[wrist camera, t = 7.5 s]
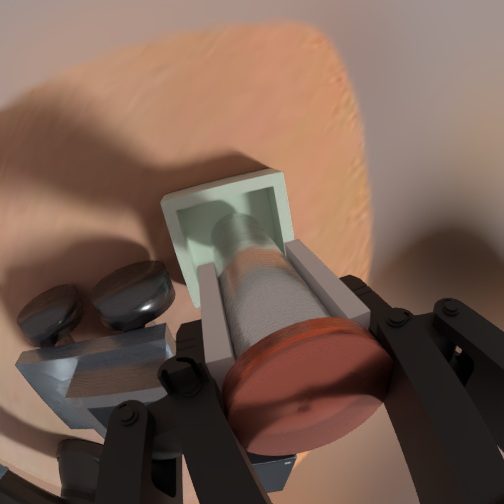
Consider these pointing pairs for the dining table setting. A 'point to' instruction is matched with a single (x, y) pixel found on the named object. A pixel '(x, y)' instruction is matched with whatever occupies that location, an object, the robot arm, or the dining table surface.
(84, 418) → the trolley
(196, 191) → the tray
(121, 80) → the dining table surface
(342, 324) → the pin
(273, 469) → the small box
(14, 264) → the dining table surface
